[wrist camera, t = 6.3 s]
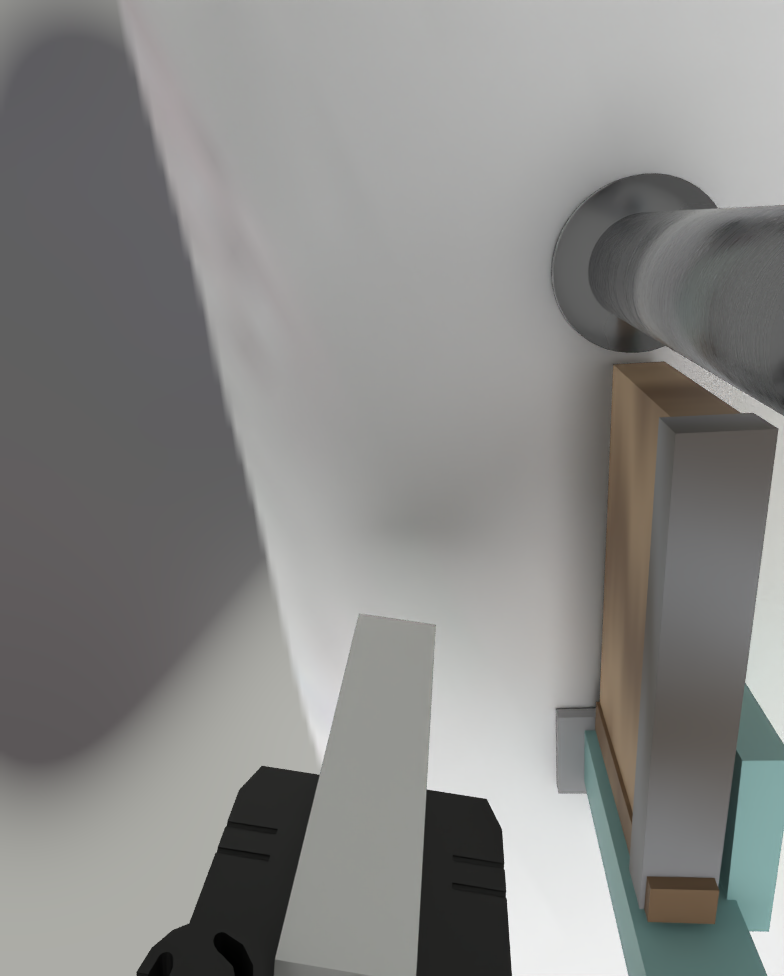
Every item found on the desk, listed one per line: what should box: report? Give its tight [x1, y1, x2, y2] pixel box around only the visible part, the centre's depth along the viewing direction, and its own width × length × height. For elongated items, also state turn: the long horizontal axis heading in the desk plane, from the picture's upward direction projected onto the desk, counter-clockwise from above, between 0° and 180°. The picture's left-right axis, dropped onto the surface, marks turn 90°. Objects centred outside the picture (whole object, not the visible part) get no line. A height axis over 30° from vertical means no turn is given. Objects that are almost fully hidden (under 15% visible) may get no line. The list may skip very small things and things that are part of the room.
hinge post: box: [552, 174, 784, 416], centre depth 12 cm, size 4×4×10 cm
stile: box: [556, 683, 784, 976], centre depth 16 cm, size 6×4×10 cm, turn 5°
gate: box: [595, 362, 778, 924], centre depth 16 cm, size 11×2×6 cm, turn 4°
